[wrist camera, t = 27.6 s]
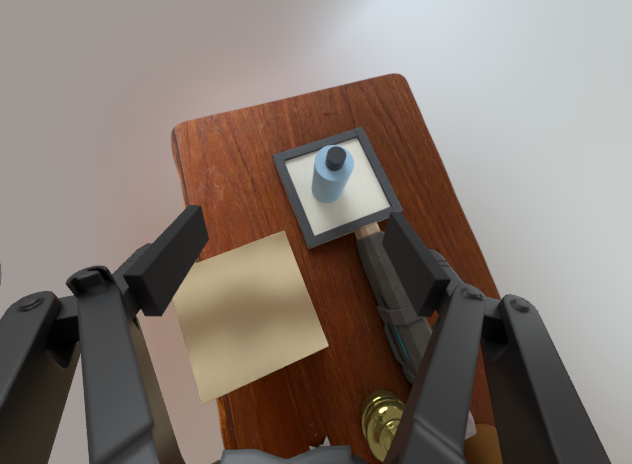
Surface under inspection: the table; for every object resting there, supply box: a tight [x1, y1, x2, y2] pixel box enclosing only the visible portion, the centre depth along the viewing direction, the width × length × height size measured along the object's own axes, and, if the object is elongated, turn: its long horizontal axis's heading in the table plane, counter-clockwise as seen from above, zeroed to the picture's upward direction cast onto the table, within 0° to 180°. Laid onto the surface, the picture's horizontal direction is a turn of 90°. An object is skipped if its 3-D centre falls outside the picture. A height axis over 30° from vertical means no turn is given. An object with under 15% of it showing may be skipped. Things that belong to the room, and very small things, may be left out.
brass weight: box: [359, 390, 405, 463], centre depth 30 cm, size 7×7×10 cm
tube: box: [354, 222, 476, 440], centre depth 34 cm, size 11×7×30 cm
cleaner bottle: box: [311, 145, 354, 203], centre depth 35 cm, size 6×6×11 cm
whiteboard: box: [272, 127, 403, 249], centre depth 41 cm, size 18×18×2 cm
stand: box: [173, 231, 328, 404], centre depth 29 cm, size 12×12×16 cm
